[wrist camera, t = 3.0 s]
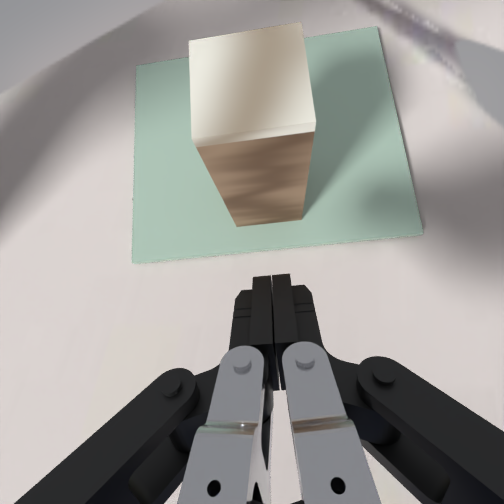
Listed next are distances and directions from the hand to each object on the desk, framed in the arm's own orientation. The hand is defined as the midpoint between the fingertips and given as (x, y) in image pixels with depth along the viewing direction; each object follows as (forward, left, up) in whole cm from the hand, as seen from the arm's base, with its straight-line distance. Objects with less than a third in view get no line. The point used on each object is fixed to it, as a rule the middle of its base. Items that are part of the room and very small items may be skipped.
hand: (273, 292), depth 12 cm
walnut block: (0, +9, -9) cm, 13 cm away
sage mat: (0, +14, -10) cm, 17 cm away
